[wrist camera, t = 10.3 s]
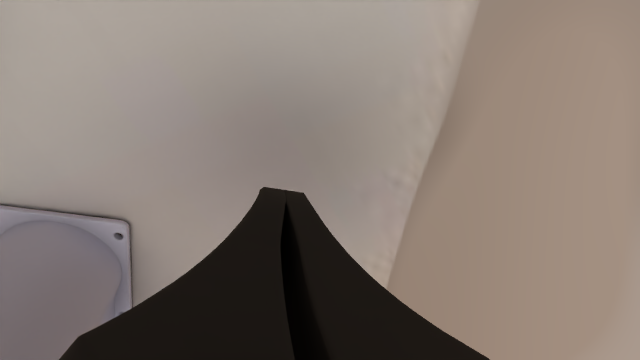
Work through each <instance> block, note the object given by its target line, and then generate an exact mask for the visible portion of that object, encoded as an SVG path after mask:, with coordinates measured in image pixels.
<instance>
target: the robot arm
mask: <svg viewBox="0 0 640 360" xmlns="http://www.w3.org/2000/svg"><path fill="white" fill-rule="evenodd" d="M117 233H120V234H122V235H123V236H120V235H118V234H117ZM0 360H489V358H487V357H485V356H484V355H482V354H480V353H479V352H477V351H475V350H474V349H472V348H470V347H469V346H467V345H465V344H464V343H462V342H460V341H458V340H457V339H455V338H454V337H452V336H450V335H449V334H447V333H445V332H443V331H442V330H440V329H439V328H437V327H436V326H434V325H433V324H432V323H430V322H429V321H427V320H426V319H424V318H423V317H422V316H420V315H418V314H417V313H416V312H414V311H413V310H412V309H410V308H409V307H408V306H406V305H405V304H404V303H402V302H401V301H400V300H398V299H397V298H396V297H395V296H394V295H392V294H391V293H390V292H389V291H387V290H386V289H385V288H384V287H383V286H381V285H380V284H379V283H378V282H377V281H376V280H375V279H373V278H372V277H371V276H370V275H369V274H368V273H367V272H366V271H365V270H364V269H363V268H362V267H361V266H360V265H359V264H358V263H357V262H356V261H355V260H354V259H353V258H352V257H351V256H350V255H349V254H348V253H347V252H346V250H345V249H344V248H343V247H342V246H341V245H340V243H339V242H338V241H337V240H336V239H335V237H334V236H333V235H332V234H331V232H330V231H329V230H328V228H327V227H326V226H325V224H324V223H323V221H322V220H321V219H320V217H319V216H318V214H317V213H316V211H315V210H314V208H313V207H312V205H311V203H310V202H309V200H308V199H307V197H306V196H305V194H304V193H300V192H294V191H287V190H281V189H274V188H268V187H263V188H262V189H260V192H259V195H258V197H257V199H256V201H255V202H254V204H253V205H252V207H251V209H250V210H249V211H248V213H247V214H246V215H245V217H244V218H243V219H242V221H241V222H240V223H239V224H238V225H237V227H236V228H235V229H234V230H233V231H232V232H231V233H230V234H229V236H228V237H227V238H226V239H225V240H224V241H223V242H222V243H221V244H220V245H219V246H218V247H217V248H216V249H214V250H213V251H212V252H211V253H210V254H209V255H208V256H207V257H206V258H204V259H203V260H202V261H201V262H199V263H198V264H197V265H196V266H194V267H193V268H192V269H191V270H189V271H188V272H187V273H185V274H184V275H183V276H181V277H180V278H179V279H177V280H176V281H174V282H173V283H171V284H170V285H168V286H167V287H165V288H164V289H162V290H161V291H159V292H157V293H156V294H154V295H153V296H151V297H150V298H148V299H147V300H145V301H144V302H142V303H140V304H139V305H137V306H135V307H133V308H132V291H131V262H130V233H129V225H128V224H127V223H126V222H125V221H122V220H116V219H108V218H100V217H92V216H84V215H75V214H67V213H59V212H51V211H43V210H35V209H27V208H18V207H10V206H2V205H0Z"/></svg>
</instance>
